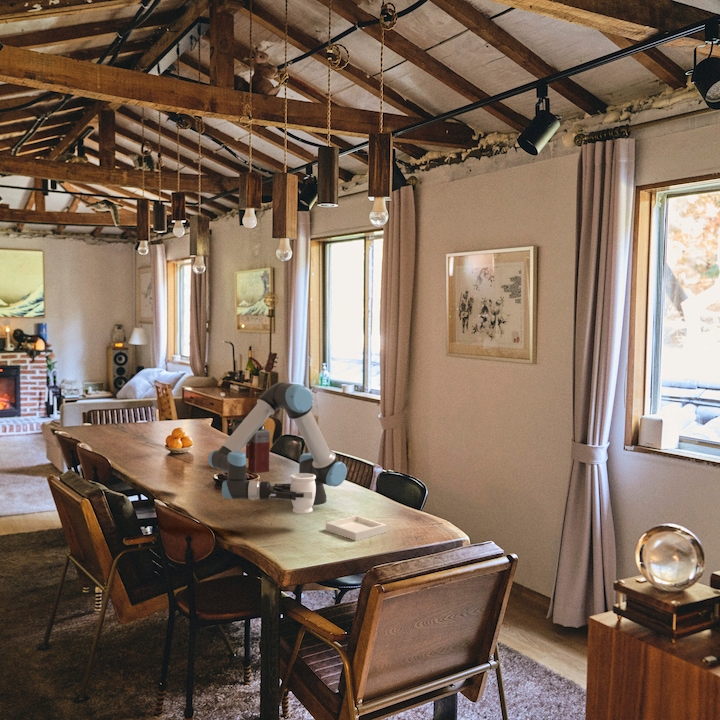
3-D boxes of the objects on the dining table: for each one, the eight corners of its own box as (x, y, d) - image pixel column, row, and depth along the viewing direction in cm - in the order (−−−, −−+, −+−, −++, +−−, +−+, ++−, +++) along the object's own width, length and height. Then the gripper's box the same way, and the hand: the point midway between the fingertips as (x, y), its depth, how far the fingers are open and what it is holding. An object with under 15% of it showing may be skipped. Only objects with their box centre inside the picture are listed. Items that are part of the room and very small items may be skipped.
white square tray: (356, 522, 305) (356, 515, 304) (386, 532, 292) (387, 524, 292) (325, 530, 292) (325, 522, 292) (355, 541, 279) (355, 533, 279)
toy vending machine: (244, 470, 397) (245, 421, 396) (262, 468, 404) (263, 420, 402) (251, 473, 390) (252, 423, 388) (269, 471, 396) (270, 422, 395)
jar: (318, 509, 297) (319, 474, 296) (310, 515, 287) (310, 479, 286) (295, 506, 300) (295, 471, 299) (286, 513, 290) (286, 477, 289)
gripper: (263, 492, 304) (315, 493, 304) (255, 506, 282) (310, 508, 281) (264, 475, 304) (315, 476, 303) (255, 488, 281) (311, 489, 281)
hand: (313, 491), depth 292 cm, fingers closed on jar, 10 cm apart
